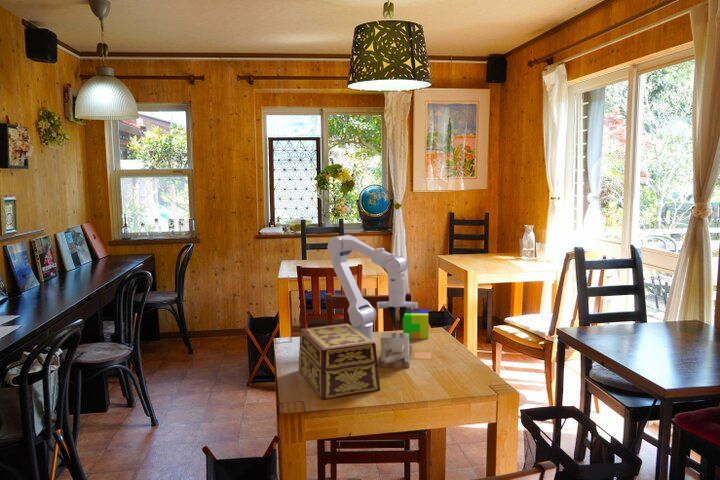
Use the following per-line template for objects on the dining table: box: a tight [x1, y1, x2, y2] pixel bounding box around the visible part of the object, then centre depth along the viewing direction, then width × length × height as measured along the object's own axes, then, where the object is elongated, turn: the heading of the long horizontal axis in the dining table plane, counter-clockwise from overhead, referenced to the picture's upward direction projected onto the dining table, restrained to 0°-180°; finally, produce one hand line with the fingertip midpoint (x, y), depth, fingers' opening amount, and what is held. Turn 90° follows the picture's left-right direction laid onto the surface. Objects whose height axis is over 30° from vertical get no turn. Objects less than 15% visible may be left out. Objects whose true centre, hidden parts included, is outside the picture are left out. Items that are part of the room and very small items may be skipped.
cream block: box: [392, 345, 404, 352], centre depth 201 cm, size 4×4×7 cm
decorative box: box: [298, 323, 381, 401], centre depth 178 cm, size 28×19×15 cm
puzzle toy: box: [402, 308, 430, 340], centre depth 225 cm, size 10×10×10 cm
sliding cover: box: [380, 332, 410, 362], centre depth 191 cm, size 9×6×8 cm, turn 82°
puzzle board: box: [379, 344, 413, 369], centre depth 197 cm, size 10×20×2 cm, turn 172°
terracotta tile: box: [413, 351, 432, 360], centre depth 199 cm, size 6×7×1 cm
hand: (397, 327), depth 200 cm, fingers closed
